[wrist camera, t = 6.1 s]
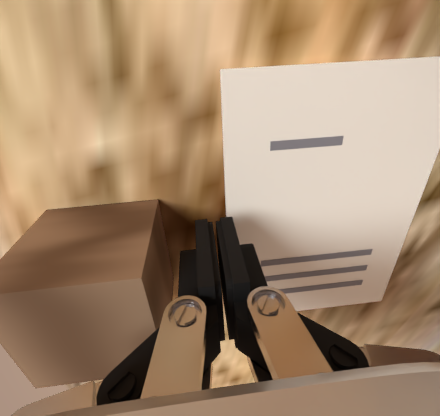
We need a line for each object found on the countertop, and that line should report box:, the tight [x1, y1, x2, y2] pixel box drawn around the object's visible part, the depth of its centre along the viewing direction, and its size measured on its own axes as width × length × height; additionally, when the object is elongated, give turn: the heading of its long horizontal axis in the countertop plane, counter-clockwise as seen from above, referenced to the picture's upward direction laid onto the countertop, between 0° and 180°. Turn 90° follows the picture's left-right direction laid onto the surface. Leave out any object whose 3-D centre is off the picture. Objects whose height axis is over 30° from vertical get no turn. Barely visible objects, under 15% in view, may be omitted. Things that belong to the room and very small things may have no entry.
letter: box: [220, 56, 440, 311], centre depth 13 cm, size 10×14×1 cm
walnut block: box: [0, 200, 174, 388], centre depth 11 cm, size 5×5×5 cm
